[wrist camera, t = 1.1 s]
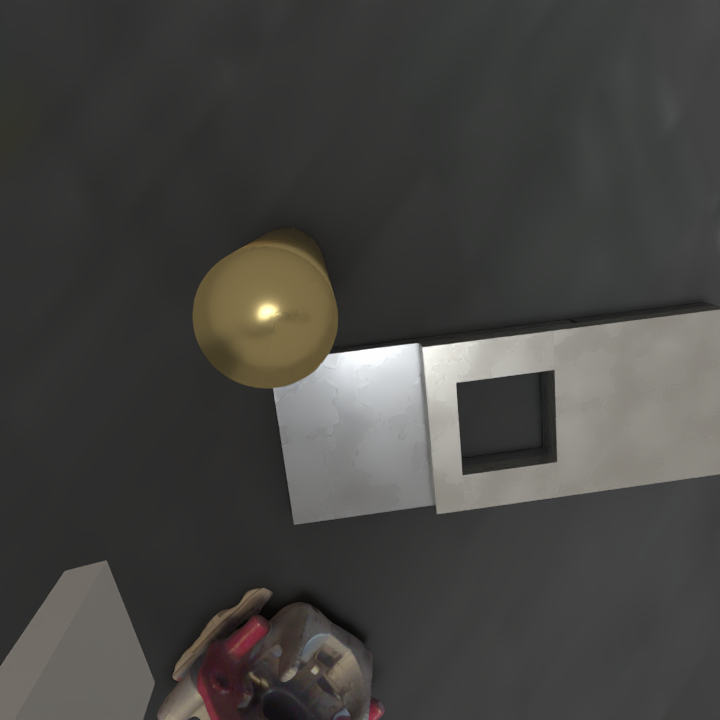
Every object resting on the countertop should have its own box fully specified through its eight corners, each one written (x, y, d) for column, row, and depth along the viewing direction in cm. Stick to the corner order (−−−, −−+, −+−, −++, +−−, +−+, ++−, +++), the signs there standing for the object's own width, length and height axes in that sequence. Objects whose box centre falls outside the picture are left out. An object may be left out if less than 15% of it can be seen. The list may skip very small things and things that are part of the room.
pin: (256, 305, 30) (206, 396, 15) (245, 232, 29) (180, 255, 14) (328, 296, 30) (346, 378, 16) (319, 223, 29) (328, 238, 15)
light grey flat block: (429, 496, 33) (436, 514, 31) (415, 338, 31) (422, 347, 29) (698, 458, 34) (722, 473, 32) (703, 302, 32) (729, 308, 30)
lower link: (294, 515, 33) (294, 524, 32) (270, 357, 31) (268, 362, 30) (570, 476, 34) (577, 484, 33) (566, 319, 31) (574, 323, 30)
